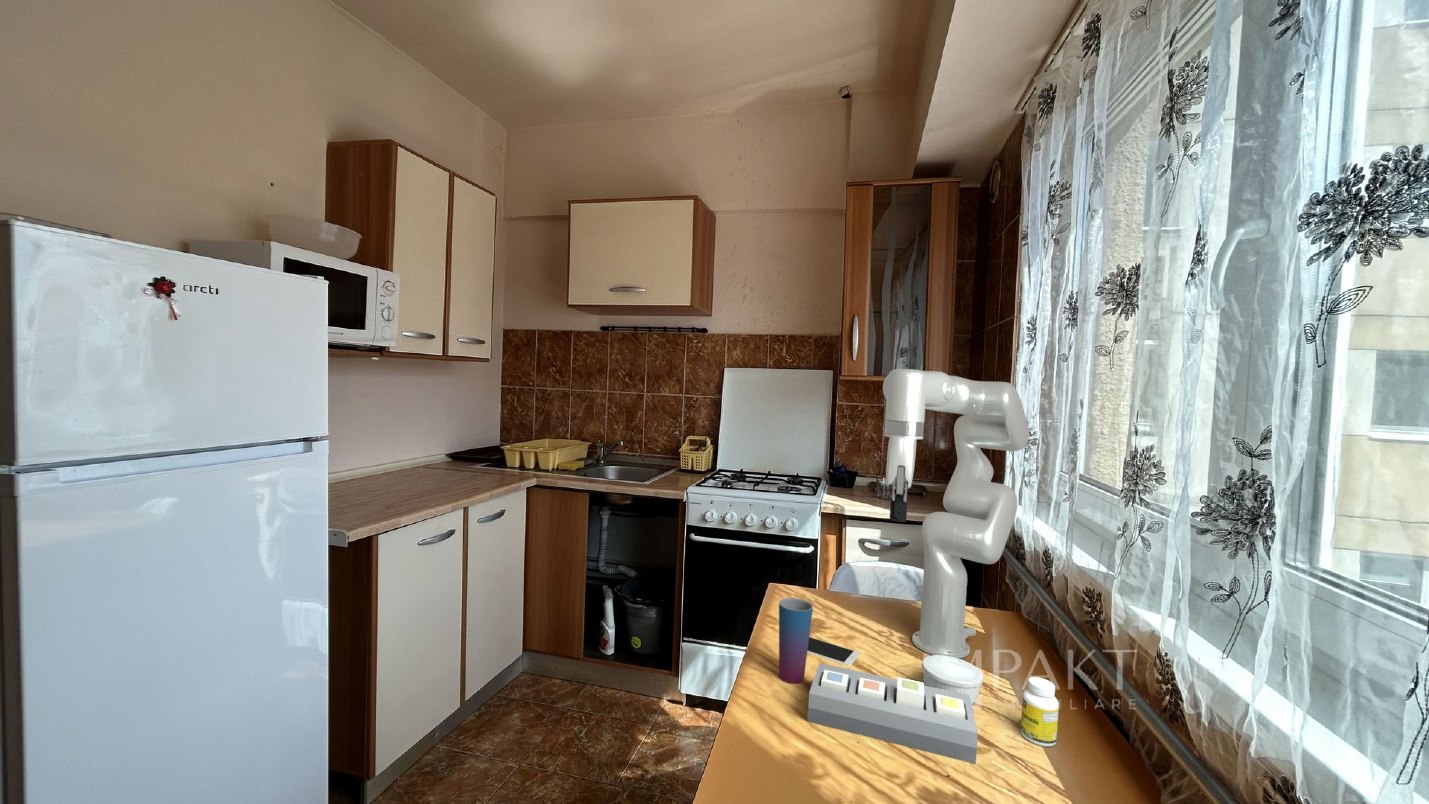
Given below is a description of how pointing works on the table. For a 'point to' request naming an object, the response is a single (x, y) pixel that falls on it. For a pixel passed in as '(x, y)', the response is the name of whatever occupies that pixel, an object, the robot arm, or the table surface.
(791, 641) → the cup
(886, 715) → the keypad
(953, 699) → the key mustard
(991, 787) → the table surface
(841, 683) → the key slate
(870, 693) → the key terracotta
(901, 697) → the key olive
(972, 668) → the ramekin
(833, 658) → the smartphone
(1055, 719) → the supplement bottle
